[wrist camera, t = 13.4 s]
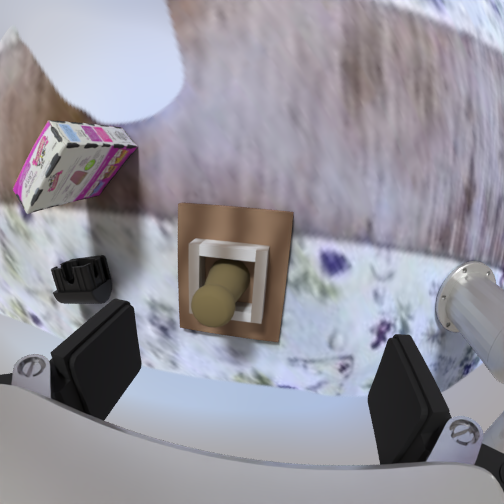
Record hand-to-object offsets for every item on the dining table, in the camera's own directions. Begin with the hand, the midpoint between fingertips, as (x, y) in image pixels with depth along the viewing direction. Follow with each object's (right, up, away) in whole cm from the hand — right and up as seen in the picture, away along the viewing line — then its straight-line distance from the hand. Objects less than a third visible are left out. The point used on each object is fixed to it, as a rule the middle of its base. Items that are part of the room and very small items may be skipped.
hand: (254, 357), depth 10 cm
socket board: (-3, 0, +34) cm, 35 cm away
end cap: (-29, -1, +39) cm, 48 cm away
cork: (-3, 0, +33) cm, 34 cm away
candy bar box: (-23, +18, +32) cm, 43 cm away
